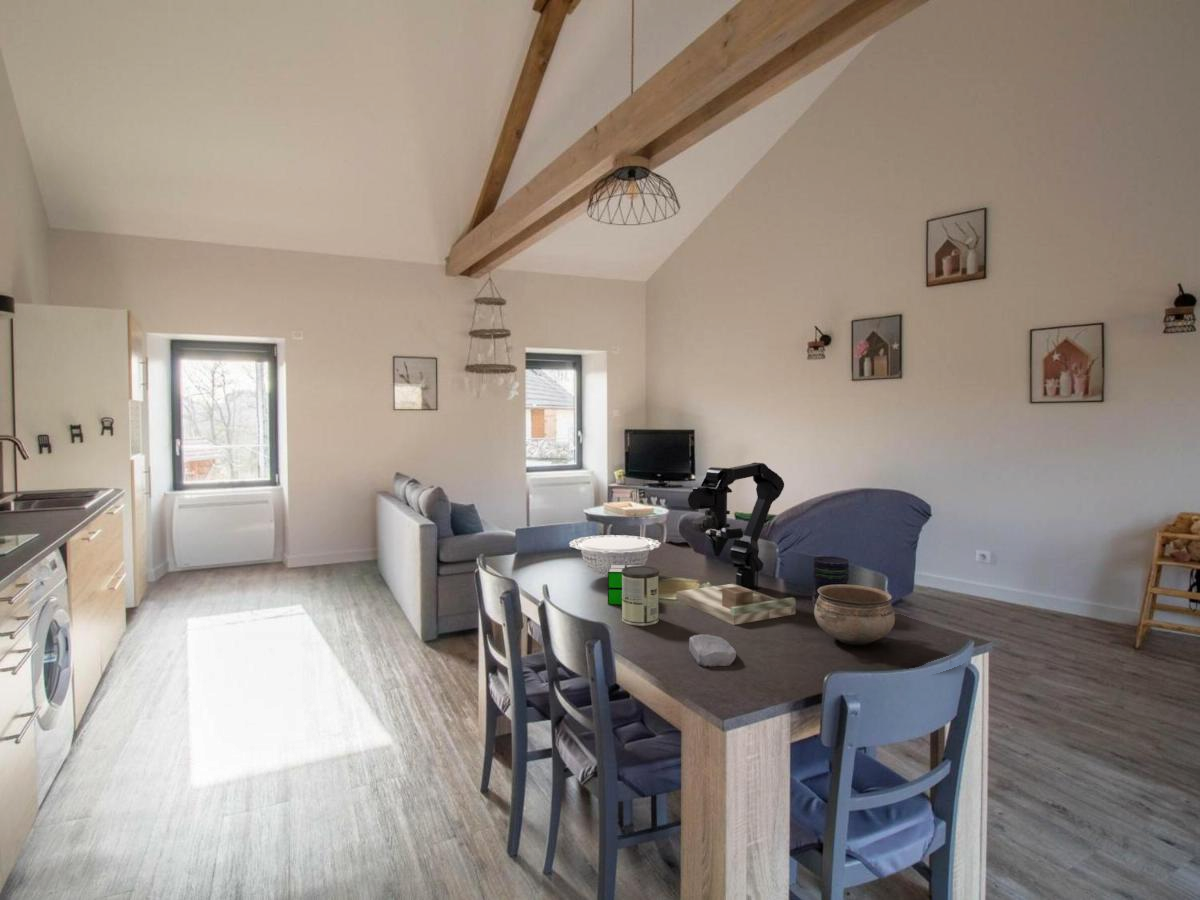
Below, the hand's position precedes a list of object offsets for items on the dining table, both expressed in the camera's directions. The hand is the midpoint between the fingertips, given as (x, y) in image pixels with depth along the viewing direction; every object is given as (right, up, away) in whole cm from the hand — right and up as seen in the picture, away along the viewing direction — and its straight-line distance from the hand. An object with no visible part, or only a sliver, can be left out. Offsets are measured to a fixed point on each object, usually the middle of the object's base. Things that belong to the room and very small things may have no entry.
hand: (717, 556), depth 213 cm
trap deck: (+2, -13, -14) cm, 19 cm away
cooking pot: (+26, -15, -44) cm, 54 cm away
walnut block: (+2, -11, -23) cm, 26 cm away
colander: (-32, -11, +19) cm, 39 cm away
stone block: (-10, -15, -56) cm, 59 cm away
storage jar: (+30, -13, -18) cm, 37 cm away
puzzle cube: (-29, -13, -8) cm, 33 cm away
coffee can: (-26, -14, -27) cm, 40 cm away
